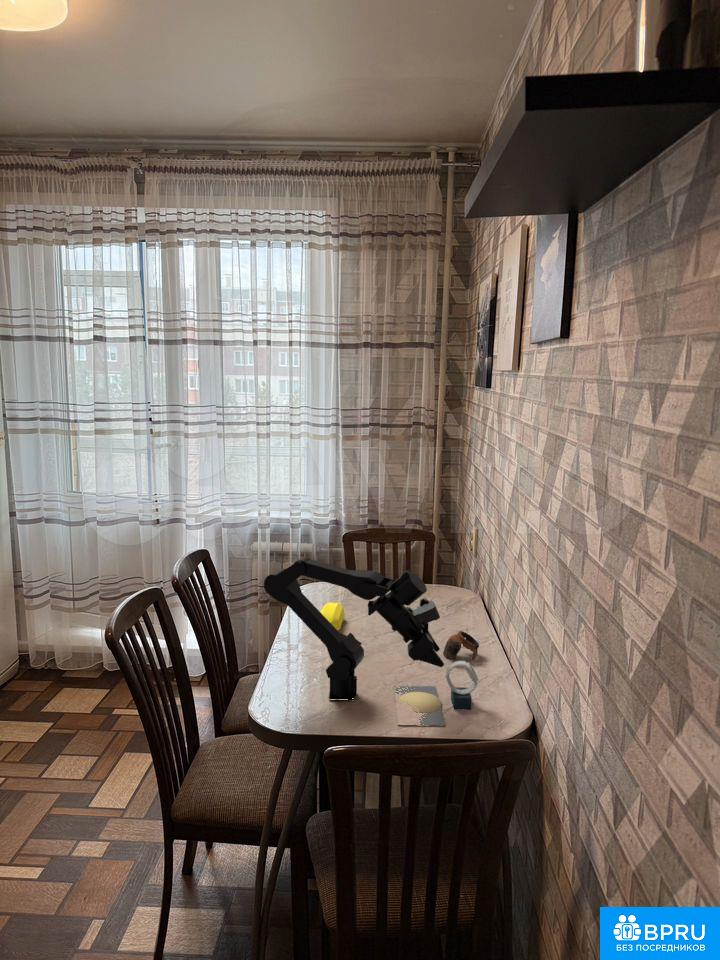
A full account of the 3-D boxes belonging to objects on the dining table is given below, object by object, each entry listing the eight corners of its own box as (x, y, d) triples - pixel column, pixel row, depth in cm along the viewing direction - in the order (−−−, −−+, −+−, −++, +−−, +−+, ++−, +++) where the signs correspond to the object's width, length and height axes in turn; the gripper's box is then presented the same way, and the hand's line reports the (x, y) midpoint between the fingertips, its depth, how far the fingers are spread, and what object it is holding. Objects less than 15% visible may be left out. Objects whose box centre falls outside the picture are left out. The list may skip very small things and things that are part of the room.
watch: (479, 709, 161) (480, 667, 160) (446, 709, 161) (447, 667, 160) (475, 699, 167) (477, 658, 165) (443, 698, 167) (445, 657, 165)
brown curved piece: (447, 648, 200) (462, 627, 198) (471, 669, 195) (487, 647, 194) (431, 652, 190) (447, 629, 188) (456, 674, 185) (472, 650, 184)
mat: (398, 725, 153) (398, 724, 153) (393, 686, 173) (393, 685, 173) (447, 726, 153) (447, 724, 153) (437, 687, 173) (437, 685, 173)
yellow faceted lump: (345, 617, 225) (323, 616, 226) (345, 598, 224) (323, 597, 225) (338, 637, 207) (314, 636, 208) (339, 616, 206) (314, 615, 207)
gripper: (424, 605, 151) (470, 651, 152) (417, 581, 169) (458, 622, 171) (389, 637, 152) (435, 683, 153) (386, 610, 170) (427, 651, 172)
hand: (440, 657), depth 162 cm, fingers open, 9 cm apart
